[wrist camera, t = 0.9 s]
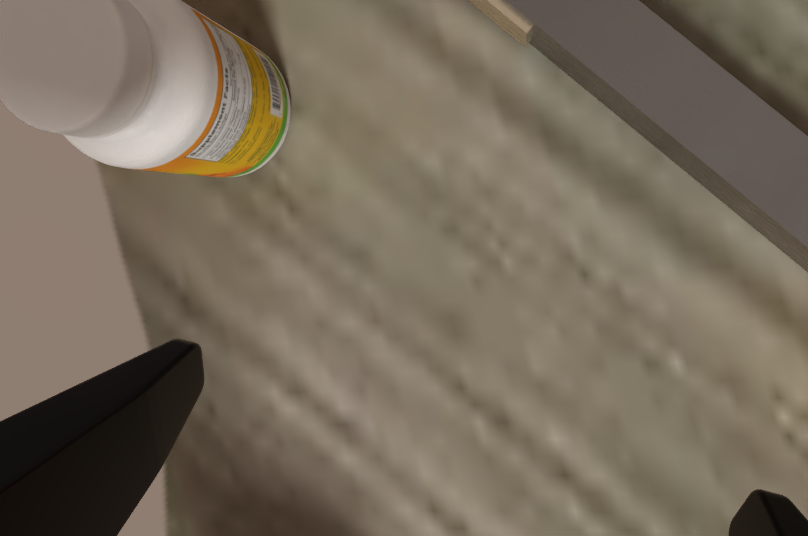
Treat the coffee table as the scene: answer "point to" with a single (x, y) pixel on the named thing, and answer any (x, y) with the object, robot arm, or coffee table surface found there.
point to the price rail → (676, 105)
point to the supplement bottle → (142, 84)
